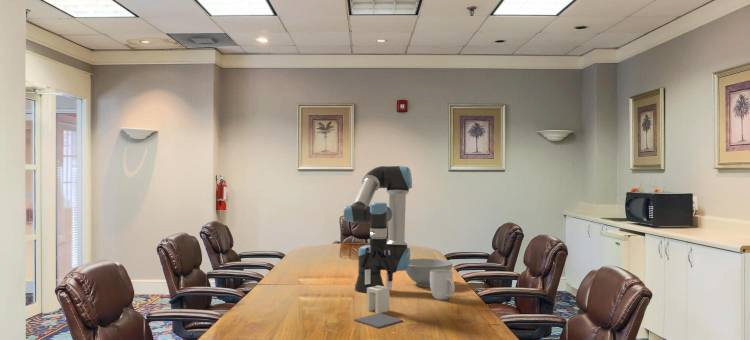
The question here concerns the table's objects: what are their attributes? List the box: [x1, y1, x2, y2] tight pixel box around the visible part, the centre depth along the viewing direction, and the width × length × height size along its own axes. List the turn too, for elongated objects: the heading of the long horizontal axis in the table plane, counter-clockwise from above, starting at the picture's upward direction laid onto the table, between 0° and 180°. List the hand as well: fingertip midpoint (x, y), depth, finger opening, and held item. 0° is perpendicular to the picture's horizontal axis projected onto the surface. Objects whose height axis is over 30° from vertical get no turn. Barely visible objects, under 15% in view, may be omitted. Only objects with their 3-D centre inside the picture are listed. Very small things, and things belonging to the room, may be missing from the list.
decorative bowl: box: [405, 258, 454, 288], centre depth 279 cm, size 27×27×12 cm
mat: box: [353, 313, 404, 329], centre depth 209 cm, size 14×14×1 cm
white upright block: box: [366, 285, 390, 314], centre depth 225 cm, size 7×7×10 cm
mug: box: [429, 269, 456, 301], centre depth 246 cm, size 15×11×13 cm
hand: (378, 286), depth 225 cm, fingers open, 13 cm apart
